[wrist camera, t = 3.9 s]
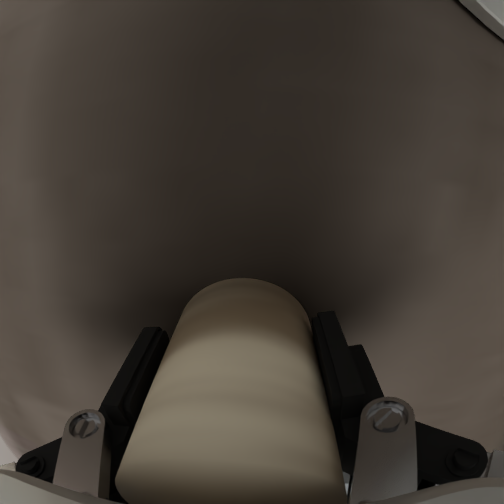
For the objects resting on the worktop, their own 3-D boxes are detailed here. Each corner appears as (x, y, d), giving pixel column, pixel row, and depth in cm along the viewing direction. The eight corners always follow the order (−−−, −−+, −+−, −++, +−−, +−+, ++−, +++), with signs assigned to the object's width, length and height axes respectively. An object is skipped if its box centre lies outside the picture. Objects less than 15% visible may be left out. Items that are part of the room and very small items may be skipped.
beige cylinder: (164, 284, 11) (73, 441, 4) (307, 269, 10) (361, 444, 4) (195, 388, 12) (161, 532, 6) (312, 379, 12) (337, 532, 5)
